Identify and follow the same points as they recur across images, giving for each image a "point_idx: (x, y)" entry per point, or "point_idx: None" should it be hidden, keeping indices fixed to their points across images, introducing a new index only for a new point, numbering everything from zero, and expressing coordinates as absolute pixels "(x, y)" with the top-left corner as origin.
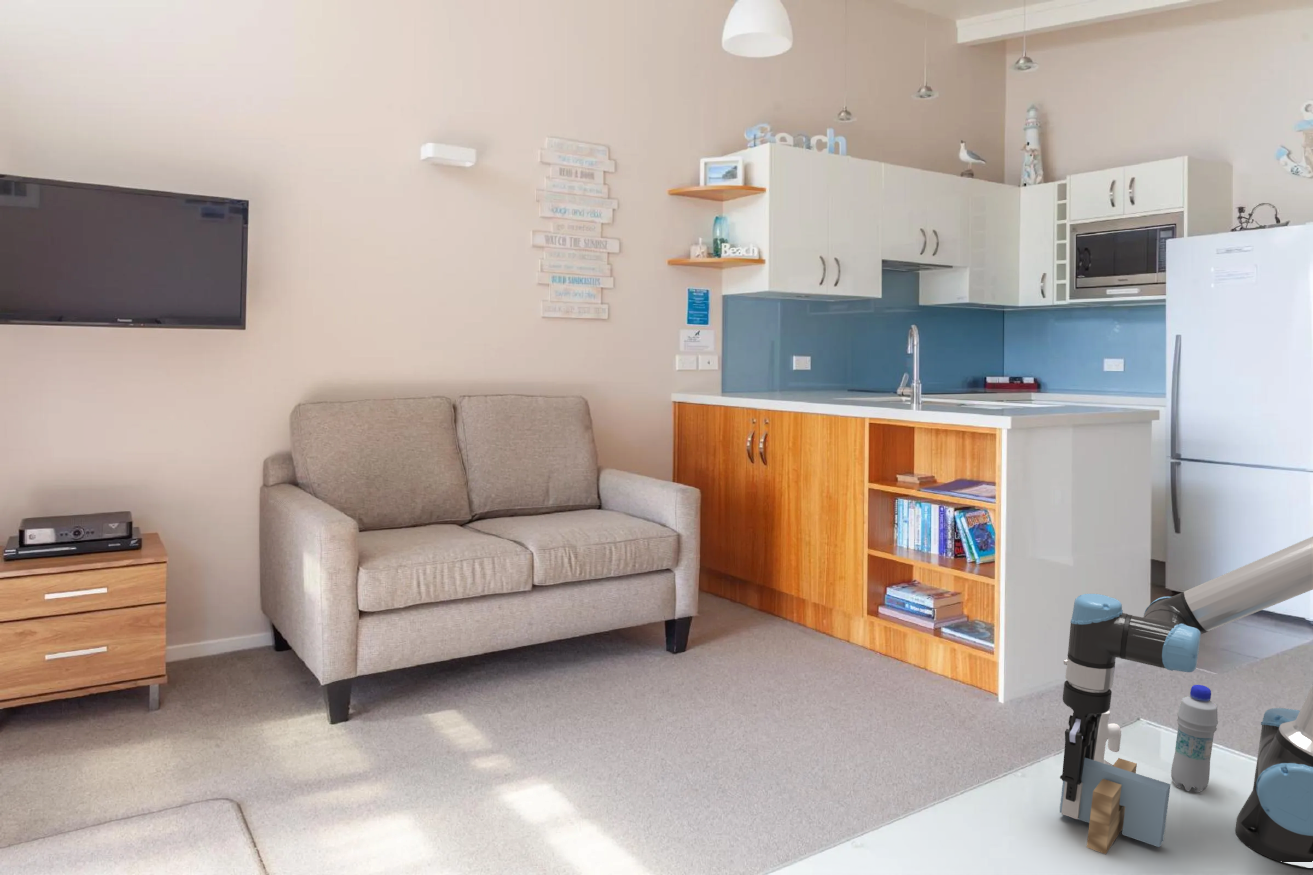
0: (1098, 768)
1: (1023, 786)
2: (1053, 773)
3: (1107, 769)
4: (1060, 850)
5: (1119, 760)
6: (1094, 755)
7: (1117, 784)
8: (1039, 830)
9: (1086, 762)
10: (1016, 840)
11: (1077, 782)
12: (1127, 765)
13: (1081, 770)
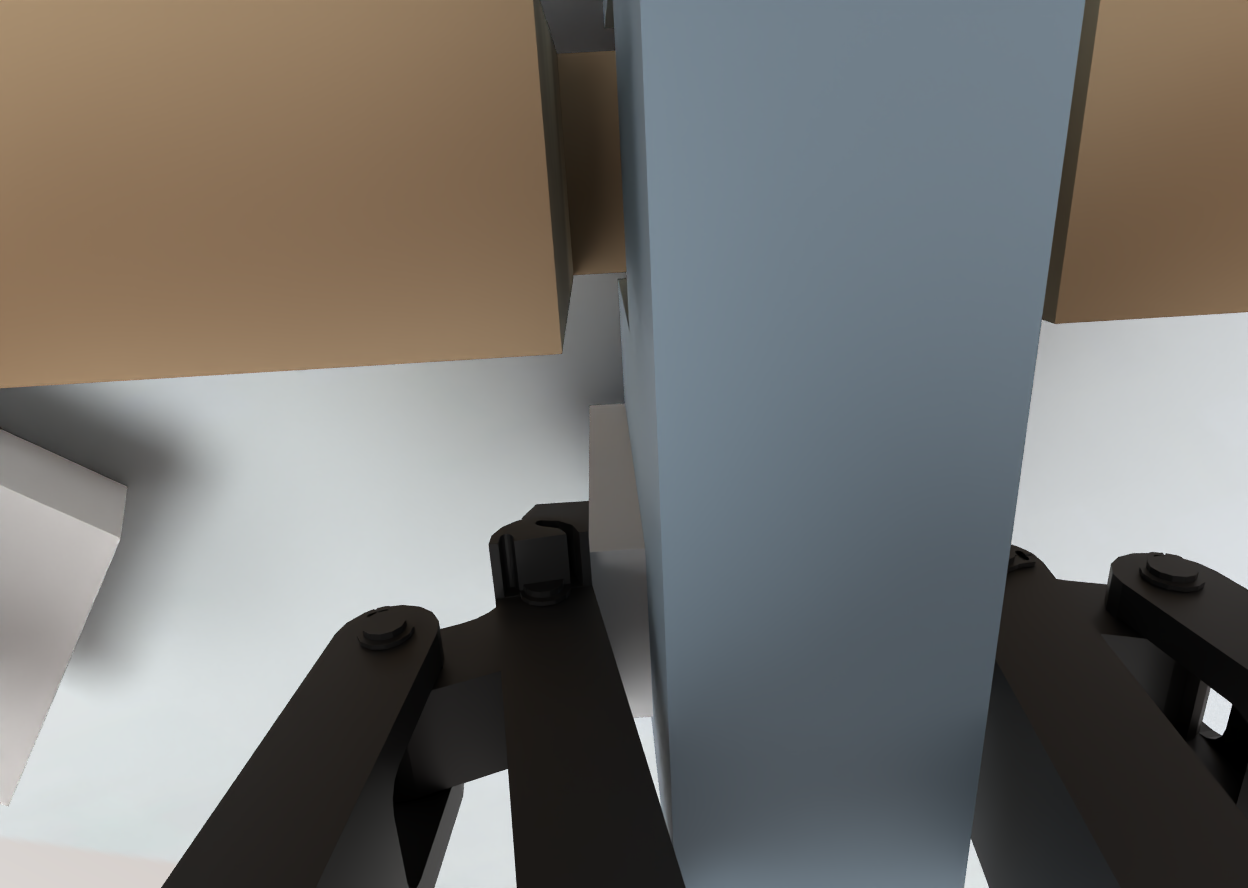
0: (980, 482)
1: (497, 801)
2: (132, 751)
3: (902, 339)
4: (1212, 339)
5: (14, 344)
6: (292, 702)
7: (1137, 22)
8: (1018, 533)
9: (866, 705)
10: (1237, 583)
11: (1192, 569)
12: (75, 148)
13: (1093, 656)
